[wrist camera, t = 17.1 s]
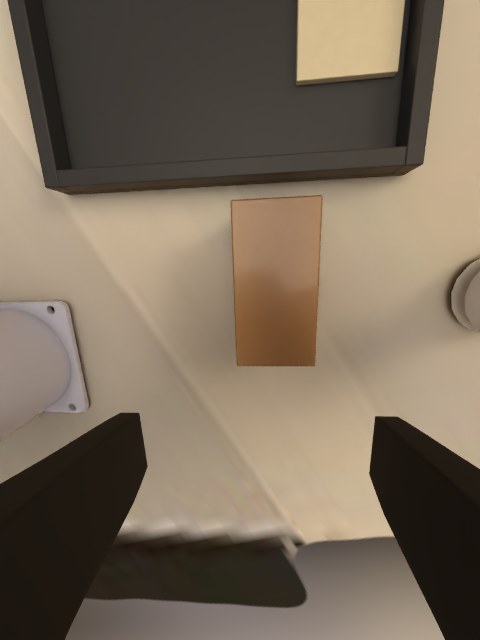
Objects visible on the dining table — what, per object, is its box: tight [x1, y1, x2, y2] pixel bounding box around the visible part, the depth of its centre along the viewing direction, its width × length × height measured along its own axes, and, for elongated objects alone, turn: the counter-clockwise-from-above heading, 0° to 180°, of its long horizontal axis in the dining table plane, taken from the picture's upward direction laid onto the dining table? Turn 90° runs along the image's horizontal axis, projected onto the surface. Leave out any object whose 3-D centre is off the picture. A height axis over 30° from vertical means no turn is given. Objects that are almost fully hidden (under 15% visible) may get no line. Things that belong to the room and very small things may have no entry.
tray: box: [8, 0, 444, 195], centre depth 12 cm, size 19×13×2 cm
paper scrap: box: [296, 0, 405, 86], centre depth 11 cm, size 4×4×1 cm
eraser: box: [231, 195, 322, 366], centre depth 13 cm, size 4×7×4 cm, turn 2°
